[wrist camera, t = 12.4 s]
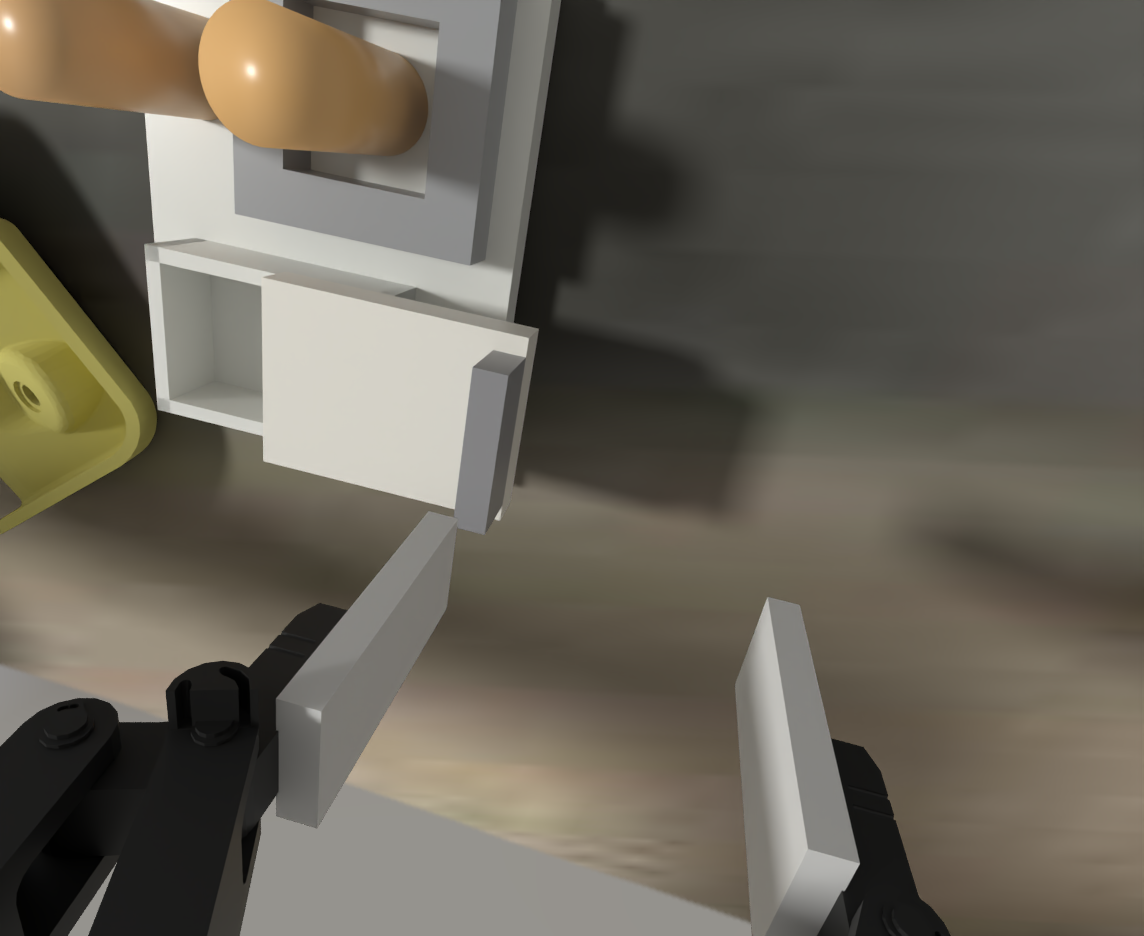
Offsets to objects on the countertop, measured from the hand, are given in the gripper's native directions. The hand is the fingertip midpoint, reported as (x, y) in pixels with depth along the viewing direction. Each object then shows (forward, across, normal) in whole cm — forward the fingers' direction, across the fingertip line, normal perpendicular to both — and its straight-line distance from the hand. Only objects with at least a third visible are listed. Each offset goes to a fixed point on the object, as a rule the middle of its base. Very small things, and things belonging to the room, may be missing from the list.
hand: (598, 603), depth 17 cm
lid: (+11, -10, 0) cm, 14 cm away
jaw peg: (+14, -12, +10) cm, 21 cm away
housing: (+15, -14, +5) cm, 22 cm away
